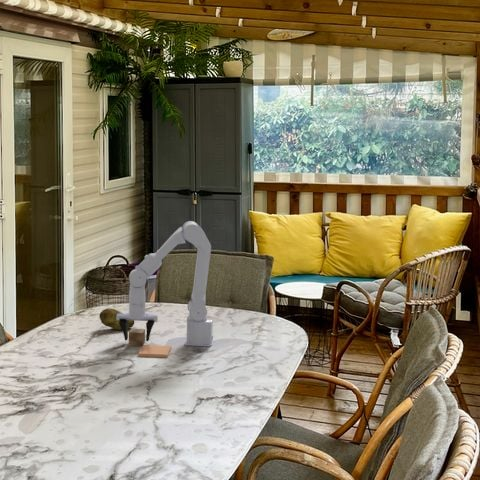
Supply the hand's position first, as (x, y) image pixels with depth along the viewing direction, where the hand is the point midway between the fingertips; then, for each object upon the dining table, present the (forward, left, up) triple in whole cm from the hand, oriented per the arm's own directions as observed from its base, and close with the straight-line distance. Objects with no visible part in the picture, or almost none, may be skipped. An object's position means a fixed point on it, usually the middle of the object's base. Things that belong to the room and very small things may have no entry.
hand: (136, 340), depth 267 cm
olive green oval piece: (+11, -18, -2) cm, 21 cm away
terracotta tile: (-8, +9, -1) cm, 12 cm away
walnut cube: (0, 0, -2) cm, 2 cm away
